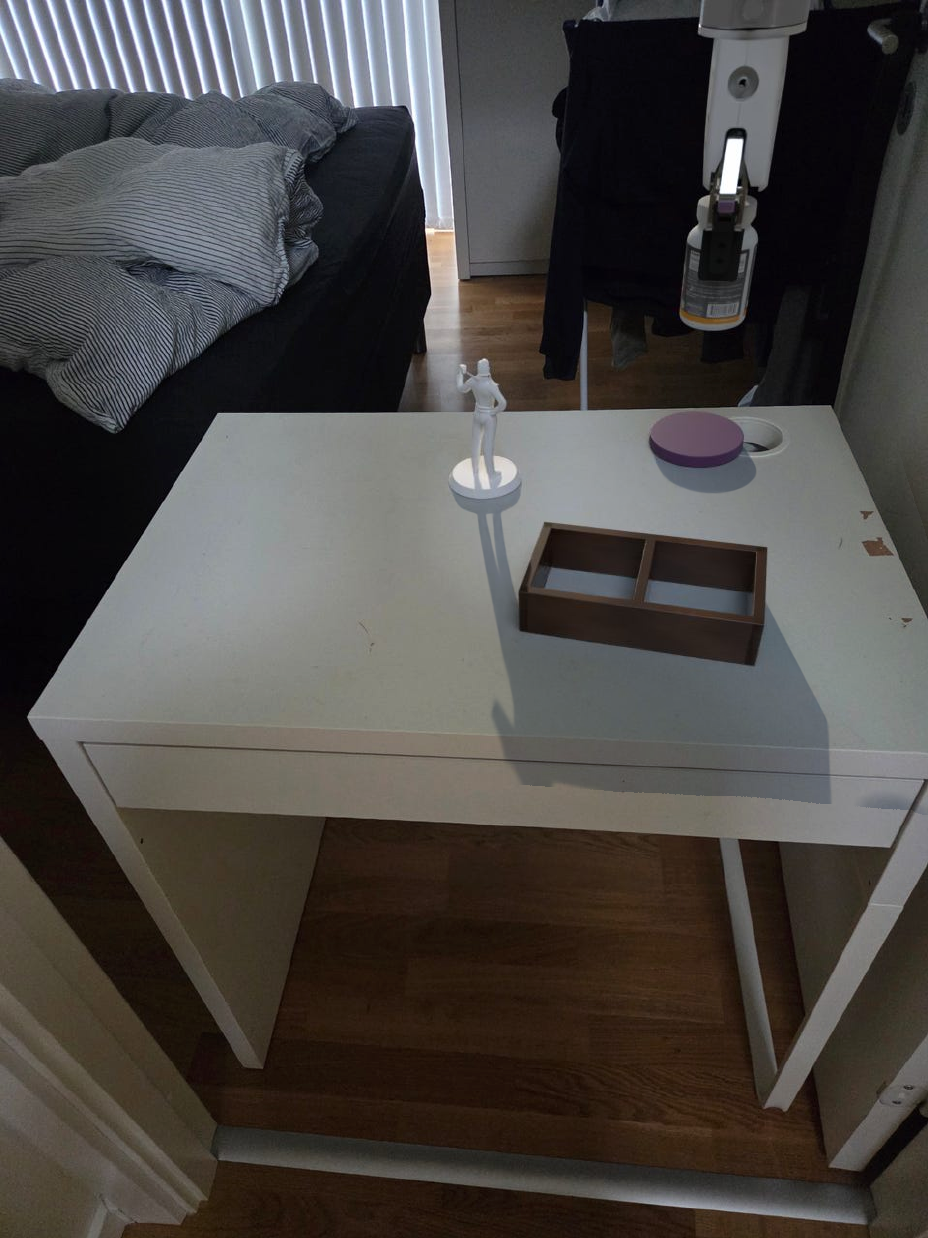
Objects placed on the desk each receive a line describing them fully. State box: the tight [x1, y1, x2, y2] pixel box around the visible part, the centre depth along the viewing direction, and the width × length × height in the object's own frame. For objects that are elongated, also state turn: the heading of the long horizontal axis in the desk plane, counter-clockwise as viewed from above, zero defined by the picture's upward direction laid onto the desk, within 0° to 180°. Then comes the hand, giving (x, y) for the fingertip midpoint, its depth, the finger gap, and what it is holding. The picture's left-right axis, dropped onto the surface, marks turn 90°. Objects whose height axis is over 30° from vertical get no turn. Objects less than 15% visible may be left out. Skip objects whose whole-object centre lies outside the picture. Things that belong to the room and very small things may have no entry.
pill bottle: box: [679, 194, 759, 332], centre depth 72 cm, size 6×6×10 cm
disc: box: [648, 410, 745, 468], centre depth 83 cm, size 9×9×1 cm
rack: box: [517, 521, 769, 667], centre depth 64 cm, size 17×9×4 cm, turn 74°
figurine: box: [448, 358, 523, 500], centre depth 77 cm, size 7×7×12 cm
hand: (719, 263), depth 72 cm, fingers closed on pill bottle, 5 cm apart
